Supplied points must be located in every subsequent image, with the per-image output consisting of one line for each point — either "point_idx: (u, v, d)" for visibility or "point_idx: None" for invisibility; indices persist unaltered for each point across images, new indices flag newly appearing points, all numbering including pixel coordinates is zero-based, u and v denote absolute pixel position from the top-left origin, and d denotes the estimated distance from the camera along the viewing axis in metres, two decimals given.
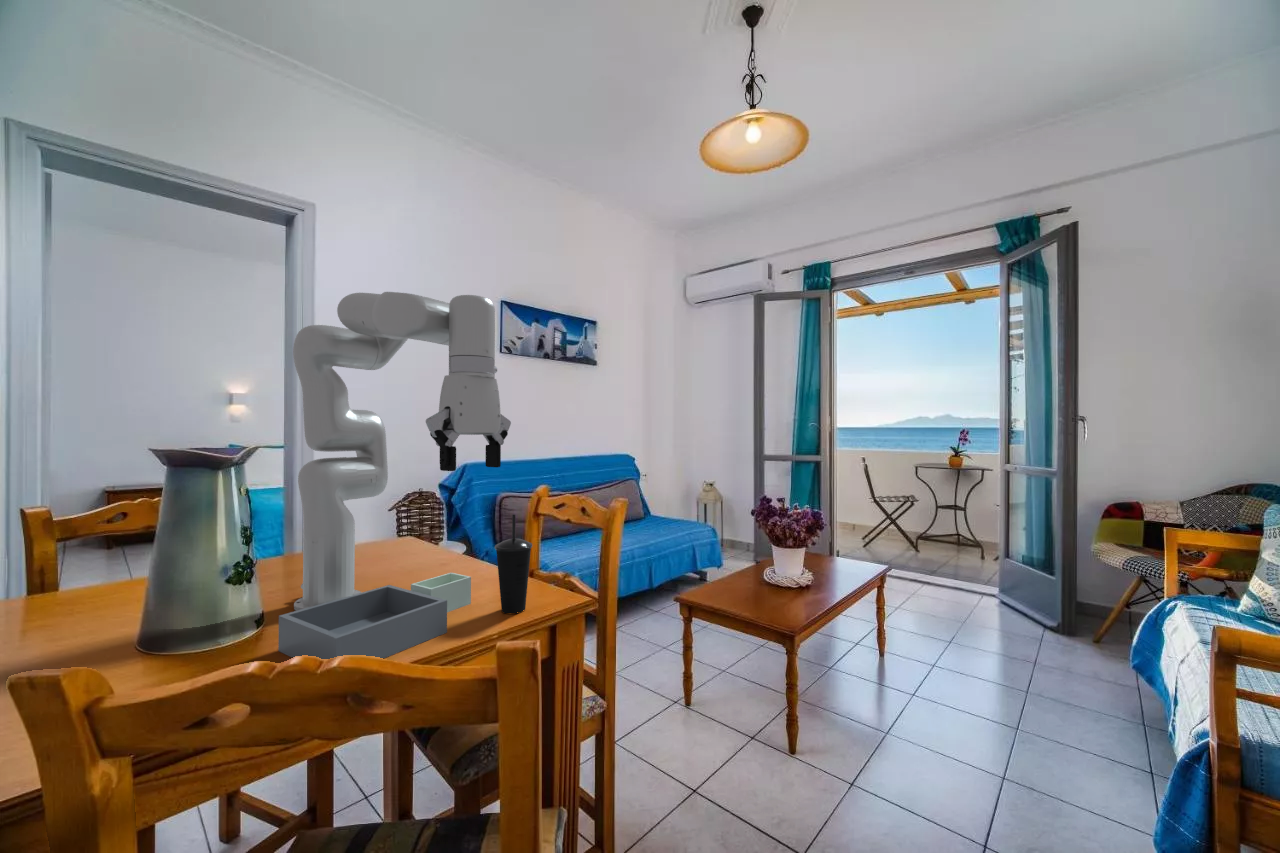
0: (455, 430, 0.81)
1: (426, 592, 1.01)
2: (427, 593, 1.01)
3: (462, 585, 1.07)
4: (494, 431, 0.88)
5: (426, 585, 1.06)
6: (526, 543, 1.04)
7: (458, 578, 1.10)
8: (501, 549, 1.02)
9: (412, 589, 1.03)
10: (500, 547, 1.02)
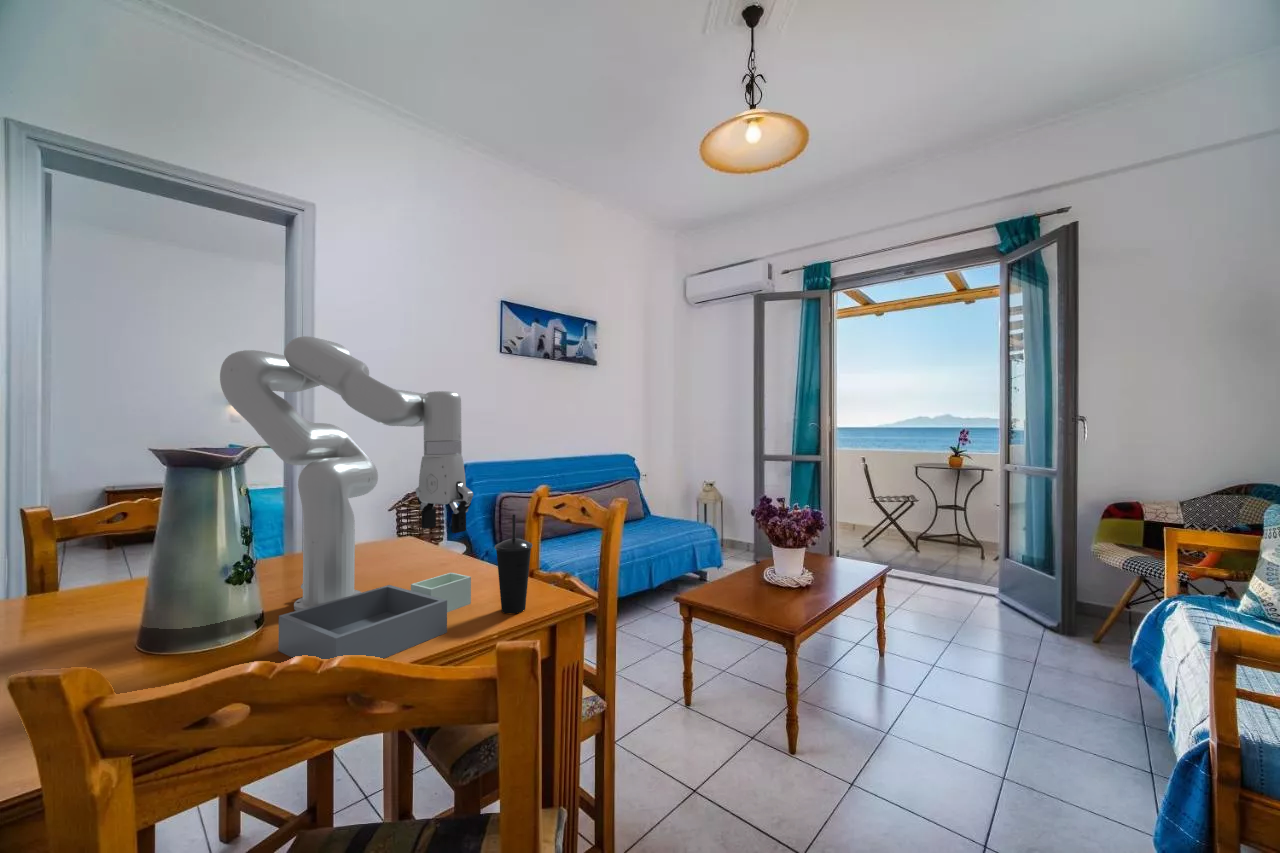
0: None
1: (426, 592, 1.01)
2: (427, 593, 1.01)
3: (462, 585, 1.07)
4: None
5: (426, 585, 1.06)
6: (526, 543, 1.04)
7: (458, 578, 1.10)
8: (501, 549, 1.02)
9: (412, 589, 1.03)
10: (500, 547, 1.02)
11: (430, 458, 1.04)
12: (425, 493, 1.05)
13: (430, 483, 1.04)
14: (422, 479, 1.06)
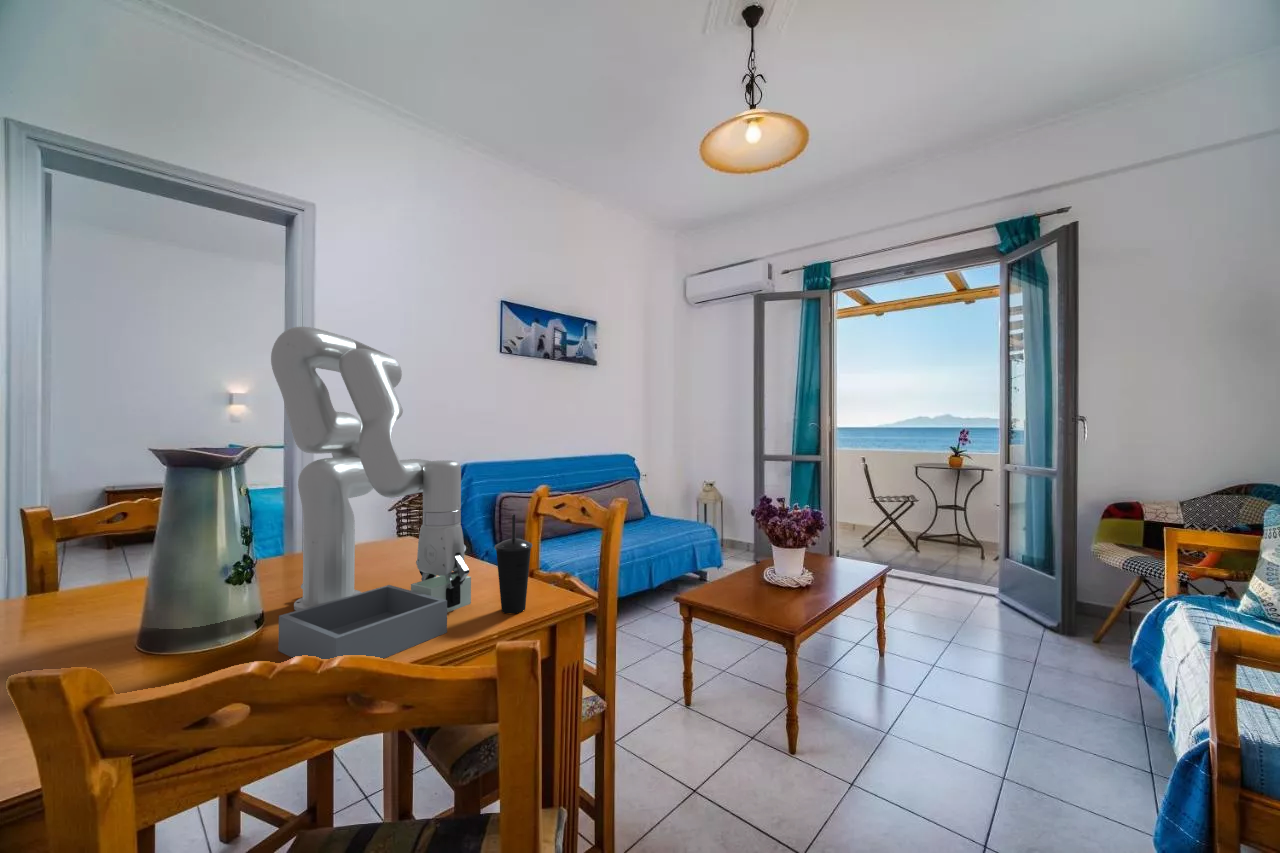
0: None
1: (427, 592, 1.01)
2: (427, 593, 1.01)
3: (462, 585, 1.07)
4: None
5: (426, 585, 1.06)
6: (526, 543, 1.04)
7: None
8: (501, 549, 1.02)
9: (412, 589, 1.03)
10: (500, 547, 1.02)
11: (429, 529, 1.04)
12: (424, 563, 1.05)
13: (429, 553, 1.04)
14: (421, 548, 1.05)
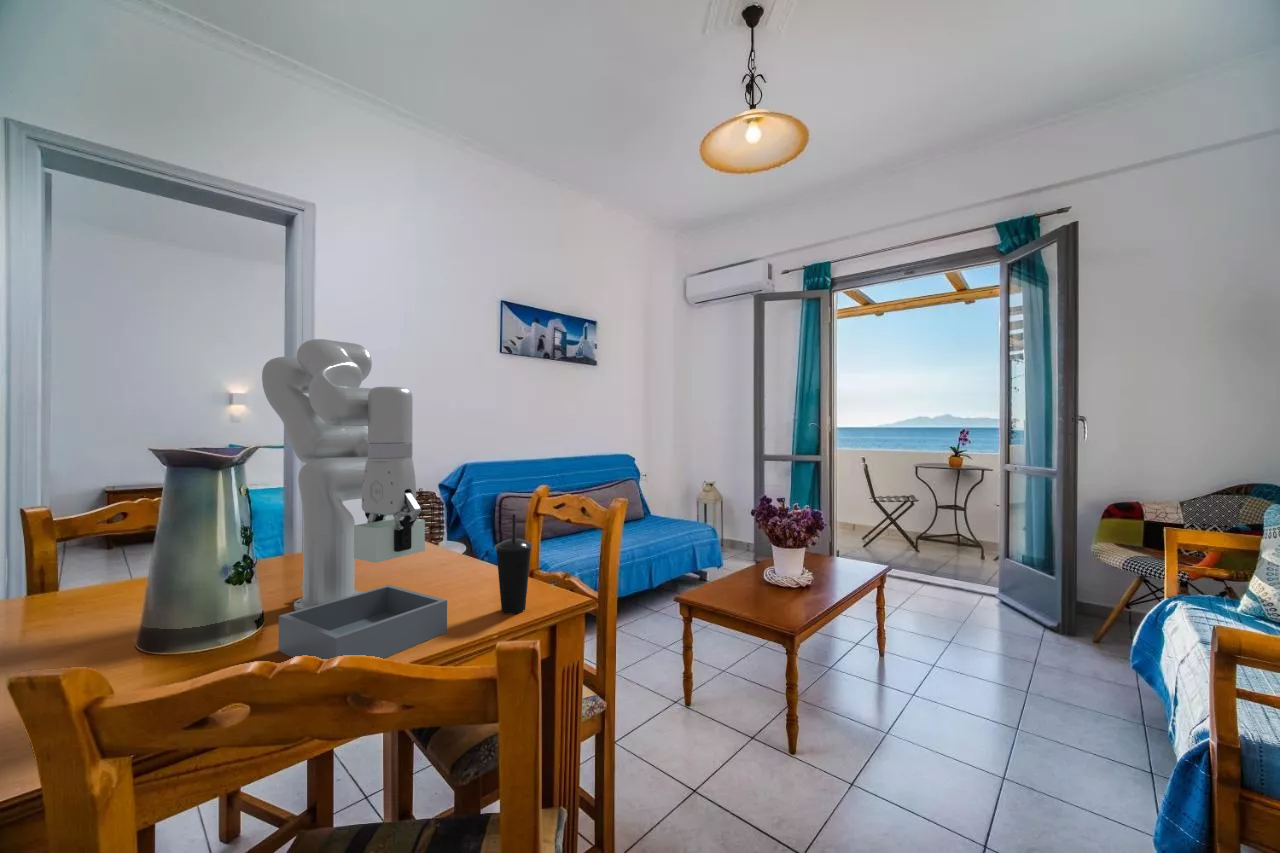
0: None
1: (371, 532, 0.88)
2: (372, 533, 0.88)
3: (414, 528, 0.94)
4: None
5: None
6: (526, 543, 1.04)
7: None
8: (501, 549, 1.02)
9: (355, 531, 0.90)
10: (500, 547, 1.02)
11: (374, 463, 0.92)
12: (369, 502, 0.92)
13: (375, 491, 0.91)
14: (366, 486, 0.93)
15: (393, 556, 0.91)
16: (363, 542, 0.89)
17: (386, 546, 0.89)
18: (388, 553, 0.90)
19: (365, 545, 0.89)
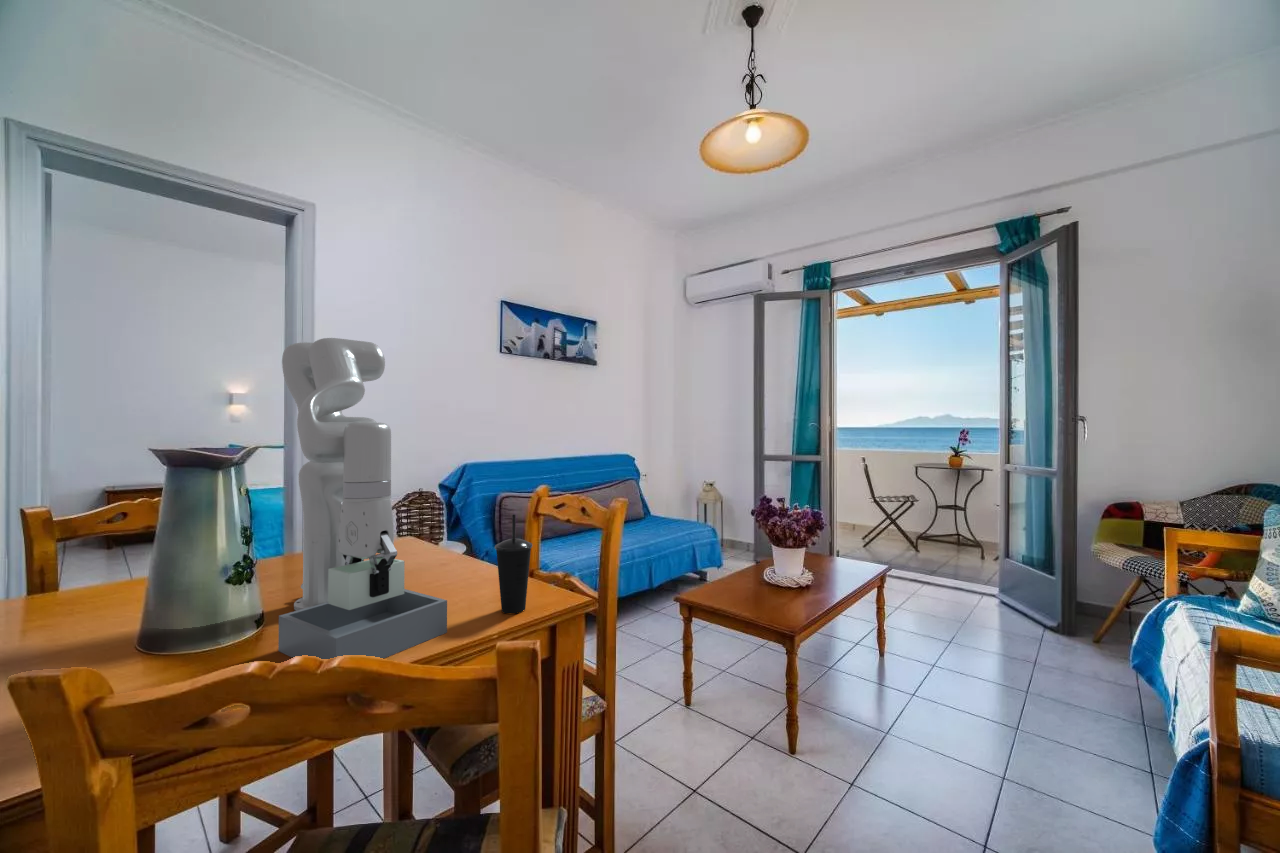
0: None
1: (345, 577, 0.84)
2: (345, 579, 0.83)
3: (392, 570, 0.90)
4: None
5: (349, 570, 0.89)
6: (526, 543, 1.04)
7: None
8: (501, 549, 1.02)
9: (330, 575, 0.86)
10: (500, 547, 1.02)
11: (350, 503, 0.87)
12: (345, 544, 0.88)
13: (350, 532, 0.87)
14: (342, 527, 0.88)
15: (368, 602, 0.86)
16: (337, 587, 0.85)
17: (360, 592, 0.85)
18: (363, 599, 0.85)
19: (338, 591, 0.84)
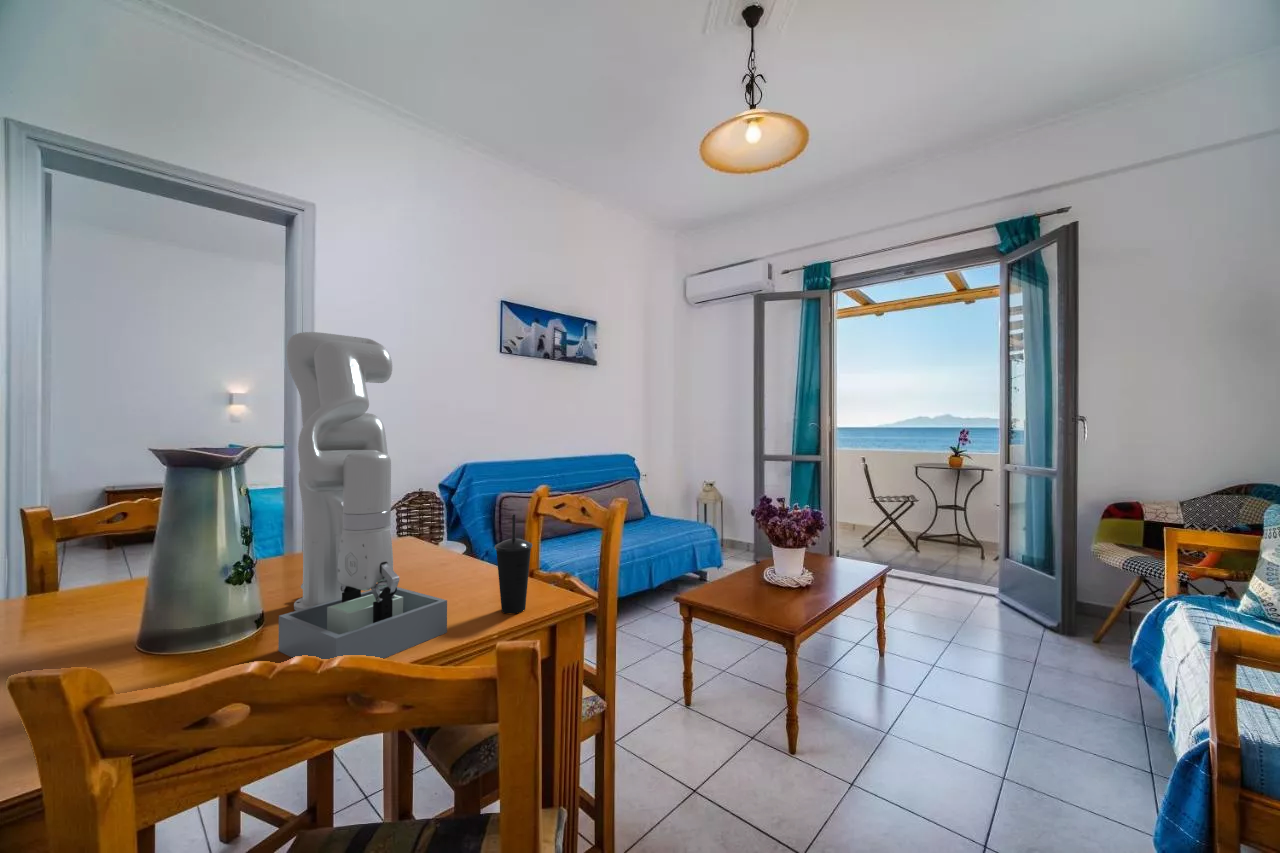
0: None
1: (343, 617, 0.84)
2: (344, 619, 0.84)
3: None
4: None
5: (348, 607, 0.89)
6: (526, 543, 1.04)
7: None
8: (501, 549, 1.02)
9: (328, 613, 0.86)
10: (500, 547, 1.02)
11: (350, 534, 0.87)
12: (344, 574, 0.88)
13: (349, 563, 0.87)
14: (341, 557, 0.88)
15: None
16: (336, 626, 0.85)
17: None
18: None
19: (337, 630, 0.85)
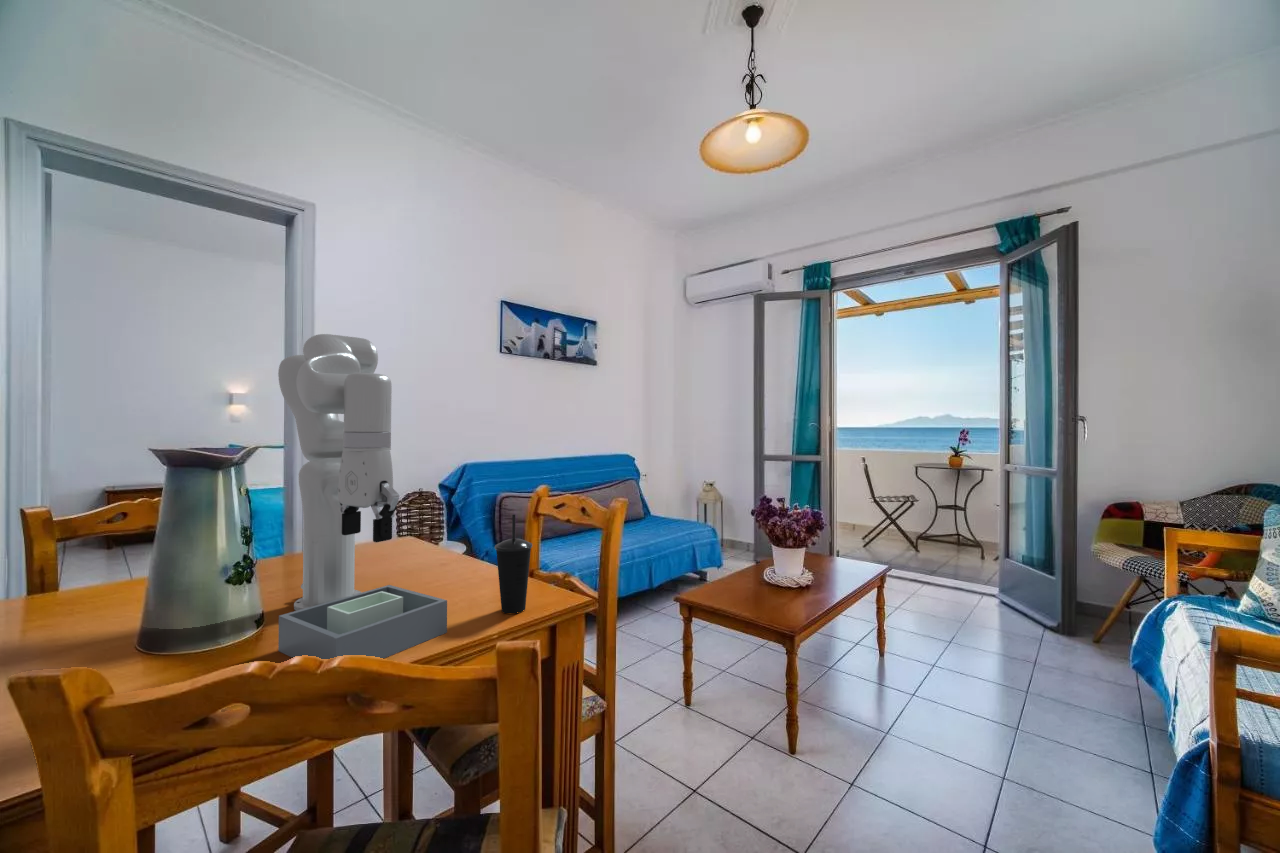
0: None
1: (343, 617, 0.84)
2: (344, 619, 0.84)
3: (391, 607, 0.90)
4: None
5: (348, 607, 0.89)
6: (526, 543, 1.04)
7: (389, 598, 0.93)
8: (501, 549, 1.02)
9: (328, 613, 0.86)
10: (500, 547, 1.02)
11: (350, 453, 0.88)
12: (344, 493, 0.88)
13: (350, 482, 0.87)
14: (342, 477, 0.89)
15: None
16: (336, 626, 0.85)
17: None
18: None
19: (337, 630, 0.85)
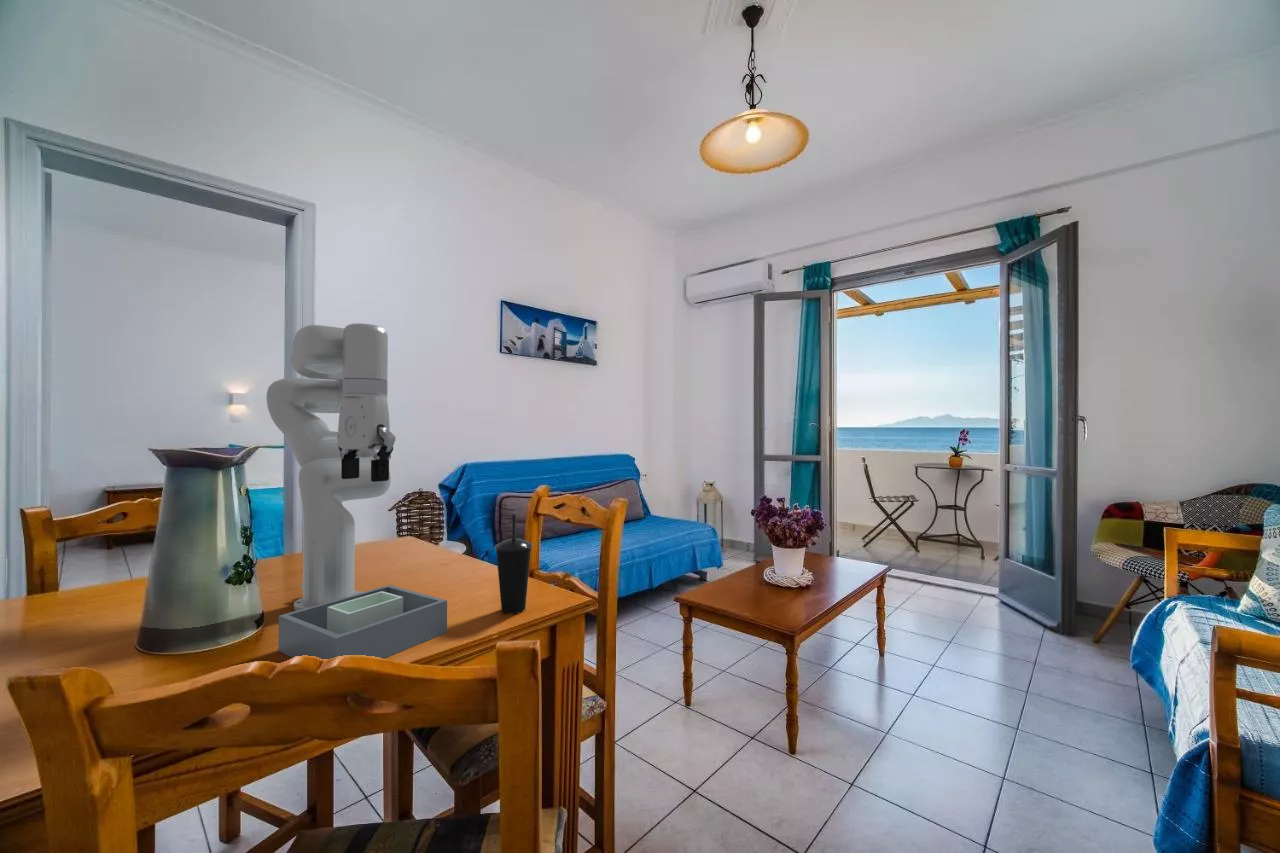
0: None
1: (343, 617, 0.84)
2: (344, 619, 0.84)
3: (391, 607, 0.90)
4: None
5: (348, 607, 0.89)
6: (526, 543, 1.04)
7: (389, 598, 0.93)
8: (501, 549, 1.02)
9: (328, 613, 0.86)
10: (500, 547, 1.02)
11: (349, 399, 0.93)
12: (344, 438, 0.94)
13: (349, 426, 0.93)
14: (341, 422, 0.94)
15: None
16: (336, 626, 0.85)
17: None
18: None
19: (337, 630, 0.85)
